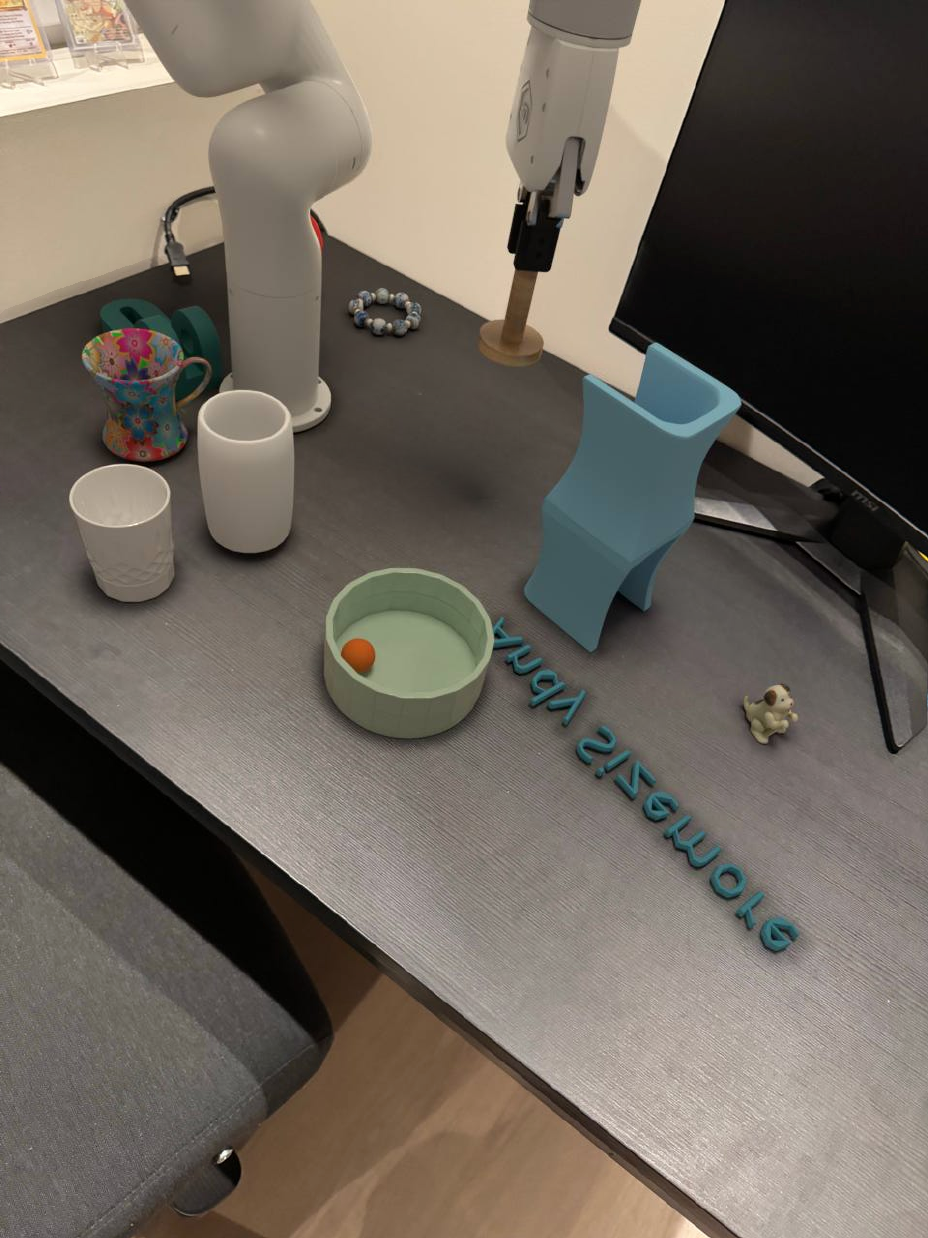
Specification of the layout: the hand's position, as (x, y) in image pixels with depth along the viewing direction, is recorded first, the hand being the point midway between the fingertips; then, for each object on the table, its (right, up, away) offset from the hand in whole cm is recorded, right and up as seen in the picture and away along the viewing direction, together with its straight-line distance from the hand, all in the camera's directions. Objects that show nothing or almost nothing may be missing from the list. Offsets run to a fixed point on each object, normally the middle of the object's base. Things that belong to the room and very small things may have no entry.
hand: (528, 259), depth 72 cm
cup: (-27, -22, +12) cm, 37 cm away
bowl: (-11, -35, +4) cm, 37 cm away
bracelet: (-16, +10, +41) cm, 45 cm away
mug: (-38, -12, +19) cm, 44 cm away
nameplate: (+8, -44, 0) cm, 44 cm away
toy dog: (+22, -40, +6) cm, 47 cm away
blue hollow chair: (+7, -29, +13) cm, 32 cm away
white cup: (-36, -27, +6) cm, 45 cm away
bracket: (-42, +1, +28) cm, 51 cm away
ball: (-15, -34, +1) cm, 37 cm away
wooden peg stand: (-1, -6, +6) cm, 9 cm away
